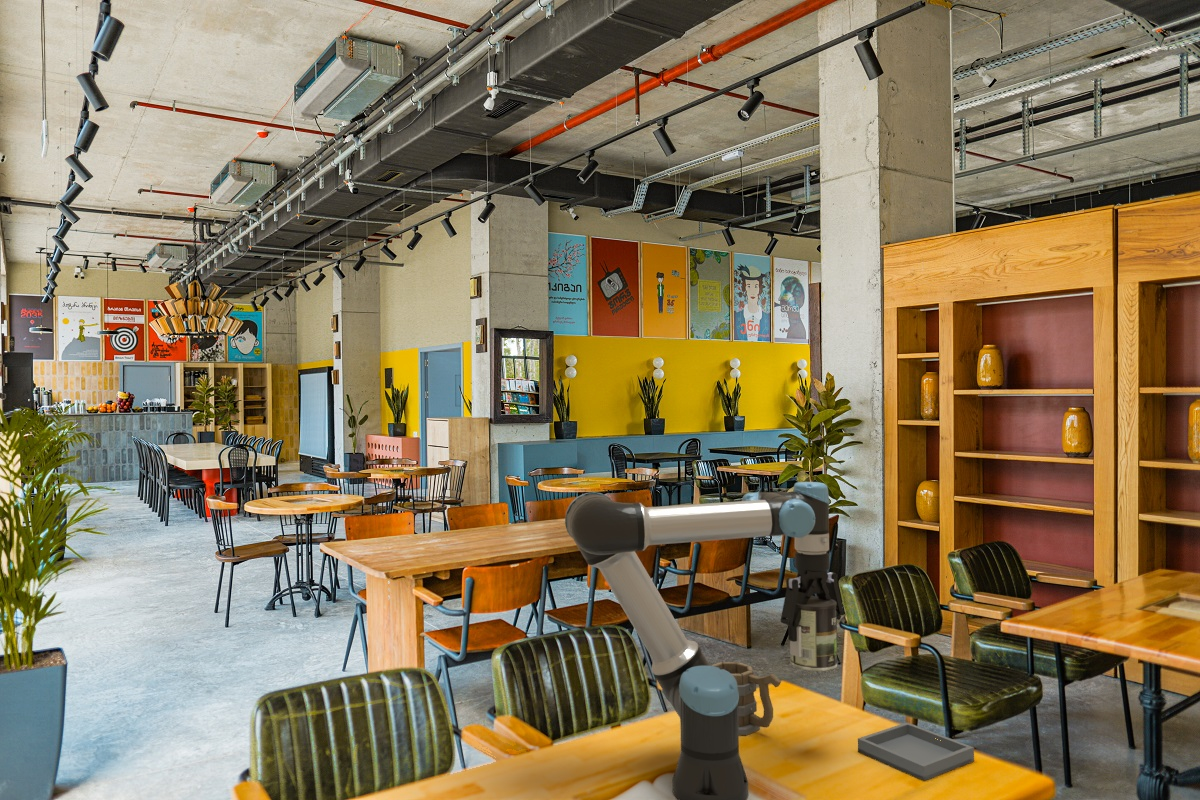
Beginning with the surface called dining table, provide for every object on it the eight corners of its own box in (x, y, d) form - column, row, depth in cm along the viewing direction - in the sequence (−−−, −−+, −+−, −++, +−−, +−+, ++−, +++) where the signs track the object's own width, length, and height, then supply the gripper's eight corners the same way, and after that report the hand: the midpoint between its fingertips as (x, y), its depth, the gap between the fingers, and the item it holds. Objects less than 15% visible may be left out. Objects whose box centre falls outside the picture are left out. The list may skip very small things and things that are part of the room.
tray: (924, 781, 164) (923, 766, 164) (857, 751, 179) (857, 738, 179) (974, 761, 173) (973, 747, 173) (907, 735, 188) (907, 722, 188)
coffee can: (835, 658, 182) (834, 596, 183) (839, 672, 172) (838, 607, 173) (788, 656, 184) (788, 594, 185) (790, 670, 174) (789, 605, 175)
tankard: (695, 725, 195) (694, 663, 196) (728, 711, 204) (727, 652, 204) (762, 750, 180) (761, 683, 181) (794, 734, 189) (793, 670, 189)
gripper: (787, 559, 170) (788, 664, 169) (859, 549, 182) (861, 647, 181) (762, 554, 176) (763, 655, 176) (834, 544, 188) (835, 639, 188)
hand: (813, 651), depth 178 cm, fingers closed on coffee can, 10 cm apart
